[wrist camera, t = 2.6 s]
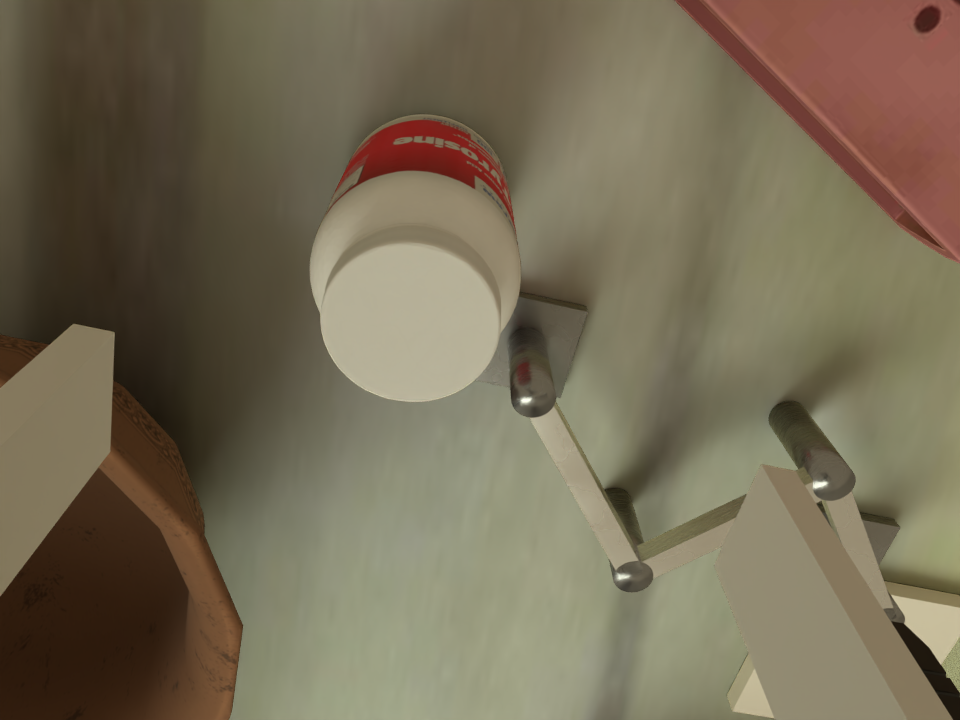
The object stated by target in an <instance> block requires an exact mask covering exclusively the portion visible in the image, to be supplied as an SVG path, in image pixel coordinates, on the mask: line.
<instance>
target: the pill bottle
mask: <svg viewBox="0 0 960 720" xmlns="http://www.w3.org/2000/svg"><path fill="white" fill-rule="evenodd" d="M310 282H311V288H312V293H313V296H314V299H315V302H316V305H317V307H318V310H319V312H320V323H321V332H322V336H323V340H324V343H325V346H326V348H327V350H328V352H329V354H330V356H331V358H332V359H333V361H334V363H335V364H336V365H337V366H338V368H339V369H340V370H341V371H342V372H343V373H344V375H346V376H347V377H348V378H349V379H350V380H351V381H352V382H354V383H355V384H356V385H358V386H359V387H361V388H363V389H364V390H366V391H369V392H371V393H373V394H375V395H378V396H381V397H384V398H387V399H391V400H397V401H406V402H423V401H431V400H435V399H440V398H443V397H446V396H449V395H452V394H454V393H456V392H458V391H460V390H462V389H463V388H465V387H466V386H468V385H469V384H471V383H472V382H473V381H474V380H475V379H476V378H478V377H479V376H480V375H481V373H482V372H483V371H484V370H485V369H486V367H487V366H488V364H489V363H490V361H491V359H492V357H493V355H494V353H495V351H496V348H497V345H498V342H499V337H500V333H501V332H502V331H503V329H504V328H505V326H506V325H507V323H508V321H509V320H510V318H511V316H512V314H513V312H514V309H515V307H516V304H517V300H518V296H519V291H520V285H521V261H520V255H519V249H518V242H517V236H516V230H515V224H514V217H513V211H512V205H511V199H510V193H509V187H508V182H507V178H506V175H505V172H504V169H503V167H502V164H501V162H500V160H499V158H498V157H497V155H496V153H495V152H494V150H493V149H492V148H491V146H490V145H489V144H488V143H487V142H486V141H485V140H484V139H483V138H482V137H481V136H480V135H479V134H477V133H476V132H475V131H473V130H472V129H470V128H469V127H467V126H466V125H464V124H462V123H460V122H458V121H455V120H453V119H450V118H447V117H443V116H437V115H430V114H417V115H409V116H404V117H400V118H397V119H394V120H392V121H389V122H387V123H386V124H384V125H382V126H380V127H379V128H377V129H376V130H374V131H373V132H372V133H371V134H370V135H368V136H367V137H366V138H365V139H364V140H363V142H362V143H361V144H360V145H359V146H358V148H357V149H356V151H355V152H354V154H353V156H352V158H351V159H350V161H349V163H348V165H347V168H346V170H345V172H344V174H343V176H342V178H341V180H340V182H339V184H338V186H337V189H336V191H335V193H334V195H333V197H332V200H331V202H330V205H329V207H328V209H327V212H326V214H325V216H324V218H323V220H322V222H321V224H320V226H319V229H318V231H317V234H316V237H315V240H314V243H313V247H312V252H311V258H310Z"/></svg>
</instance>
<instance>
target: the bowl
mask: <svg viewBox="0 0 960 720" xmlns="http://www.w3.org/2000/svg"><path fill="white" fill-rule="evenodd" d="M48 346H49V345H48V344H44V343H39V342H34V341H29V340H24V339H19V338H14V337H9V336H4V335H0V388H1V387H2V386H3V385H4V384H5V383H7V382H8V381H9V380H10V379H11V378H12V377H13V376H15V375H16V374H17V373H18V372H19V371H20V370H21V369H22V368H24V367H25V366H26V365H27V364H28V363H29V362H30V361H32V360H33V359H34V358H35V357H36V356H37V355H38V354H40V353H41V352H42V351H43V350H44V349H45V348H46V347H48ZM204 529H205V524H204V516H203V511H202V509H201V506H200V504H199V501H198V499H197V496H196V494H195V491H194V489H193V486H192V483H191V481H190V478H189V476H188V473H187V471H186V468H185V466H184V463H183V460H182V458H181V455H180V453H179V450H178V448H177V445H176V443H175V442H174V441H173V440H172V439H171V438H170V436H169V435H168V434H167V433H166V432H165V431H164V430H163V429H162V428H161V427H160V426H159V425H158V423H157V422H156V421H155V420H154V419H153V418H152V417H151V416H150V415H149V414H148V413H147V412H146V410H145V409H144V408H143V407H142V406H141V405H140V404H139V403H138V402H137V401H136V400H135V399H134V397H133V396H132V395H131V394H130V393H129V392H128V391H127V390H126V389H125V388H124V387H123V386H122V385H120V384H119V383H117V382H115V381H113V391H112V417H111V444H110V453H109V454H108V455H107V457H106V458H105V459H104V461H103V462H102V463H101V464H100V466H99V467H98V468H97V470H96V471H95V472H94V474H93V475H92V476H91V478H90V479H89V480H88V482H87V483H86V484H85V486H84V487H83V488H82V489H81V491H80V492H79V493H78V495H77V496H76V497H75V499H74V500H73V501H72V503H71V504H70V505H69V507H68V508H67V509H66V511H65V512H64V513H63V514H62V516H61V517H60V518H59V520H58V521H57V522H56V524H55V525H54V526H53V528H52V529H51V530H50V532H49V533H48V534H47V536H46V537H45V538H44V539H43V541H42V542H41V543H40V545H39V546H38V547H37V549H36V550H35V551H34V553H33V554H32V555H31V557H30V558H29V559H28V561H27V562H26V563H25V564H24V566H23V567H22V568H21V570H20V571H19V572H18V574H17V575H16V576H15V578H14V579H13V580H12V582H11V583H10V584H9V586H8V587H7V588H6V589H5V591H4V592H3V593H2V595H1V596H0V720H228V719H229V718H230V715H231V712H232V707H233V699H234V691H235V684H236V676H237V668H238V661H239V653H240V646H241V638H242V630H243V624H242V622H241V620H240V617H239V615H238V613H237V610H236V608H235V606H234V603H233V601H232V599H231V596H230V594H229V592H228V589H227V587H226V585H225V582H224V580H223V578H222V575H221V573H220V571H219V568H218V566H217V564H216V561H215V559H214V557H213V554H212V552H211V550H210V547H209V545H208V543H207V540H206V538H205V536H204Z"/></svg>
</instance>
